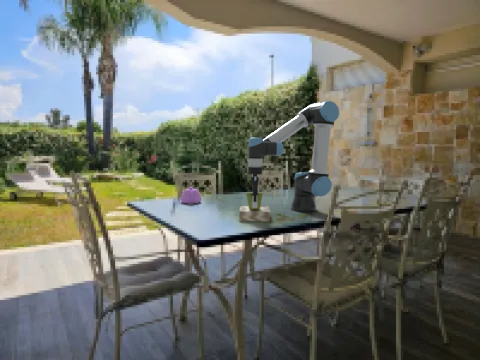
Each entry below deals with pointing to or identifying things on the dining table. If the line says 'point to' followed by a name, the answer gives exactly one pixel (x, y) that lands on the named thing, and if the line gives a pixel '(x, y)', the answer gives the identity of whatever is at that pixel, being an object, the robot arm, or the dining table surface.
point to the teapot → (191, 196)
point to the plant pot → (251, 200)
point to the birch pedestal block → (254, 214)
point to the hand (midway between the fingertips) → (254, 205)
